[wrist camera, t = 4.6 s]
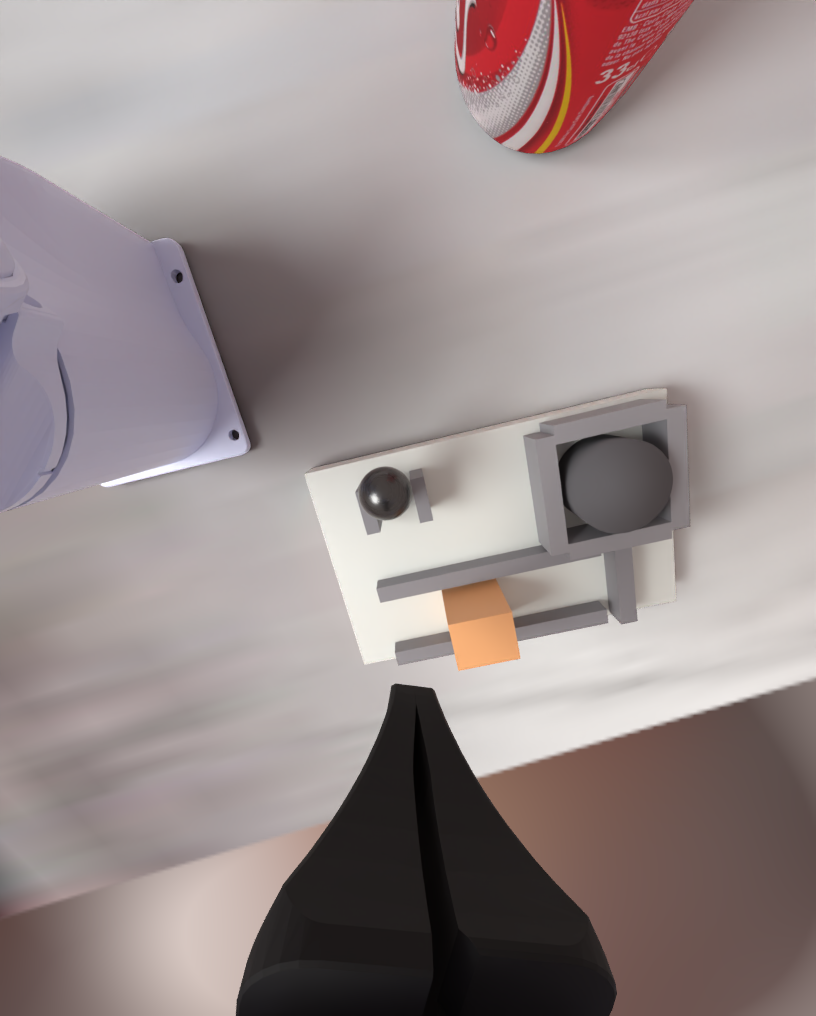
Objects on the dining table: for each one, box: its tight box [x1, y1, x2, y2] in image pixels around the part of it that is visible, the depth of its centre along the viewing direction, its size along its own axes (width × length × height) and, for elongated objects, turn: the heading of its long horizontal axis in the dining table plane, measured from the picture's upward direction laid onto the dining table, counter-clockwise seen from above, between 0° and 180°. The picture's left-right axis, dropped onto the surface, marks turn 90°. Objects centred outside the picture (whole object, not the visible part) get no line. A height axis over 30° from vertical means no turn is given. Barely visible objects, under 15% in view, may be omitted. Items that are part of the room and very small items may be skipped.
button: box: [558, 434, 673, 534], centre depth 17 cm, size 4×4×2 cm
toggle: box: [358, 466, 413, 521], centre depth 16 cm, size 2×2×5 cm
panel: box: [304, 388, 690, 665], centre depth 19 cm, size 11×17×4 cm, turn 103°
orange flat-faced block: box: [442, 578, 520, 671], centre depth 18 cm, size 2×3×3 cm
